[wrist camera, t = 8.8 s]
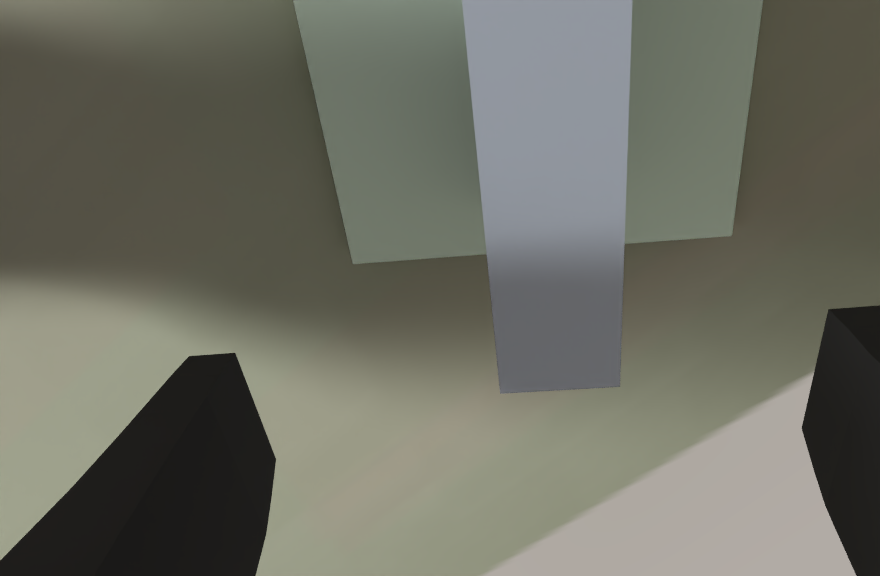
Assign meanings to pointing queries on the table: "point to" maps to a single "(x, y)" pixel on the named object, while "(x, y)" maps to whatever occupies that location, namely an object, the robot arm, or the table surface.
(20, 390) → the table surface
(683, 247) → the table surface
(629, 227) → the mat
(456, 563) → the table surface
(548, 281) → the grey rectangular box
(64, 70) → the table surface
